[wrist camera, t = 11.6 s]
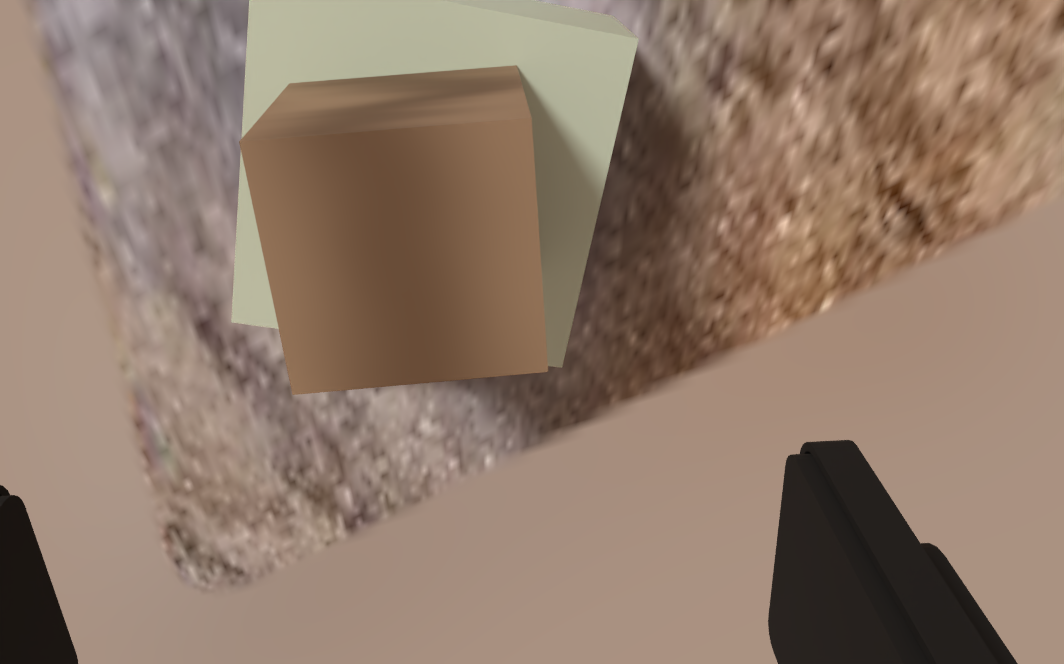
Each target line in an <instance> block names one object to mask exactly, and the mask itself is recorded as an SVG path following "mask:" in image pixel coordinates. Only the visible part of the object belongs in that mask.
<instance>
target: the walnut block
mask: <svg viewBox="0 0 1064 664" xmlns="http://www.w3.org/2000/svg"><path fill="white" fill-rule="evenodd" d="M239 143H240V148H241V153H242V157H243V162H244V167H245V171H246V176H247V181H248V186H249V190H250V195H251V200H252V205H253V209H254V214H255V219H256V224H257V228H258V233H259V238H260V242H261V247H262V252H263V257H264V261H265V266H266V271H267V276H268V280H269V285H270V290H271V295H272V299H273V304H274V309H275V313H276V318H277V323H278V328H279V332H280V337H281V342H282V347H283V351H284V356H285V361H286V366H287V370H288V375H289V380H290V385H291V389H292V394H293V395H296V394H307V393H318V392H329V391H340V390H352V389H363V388H374V387H385V386H396V385H407V384H418V383H430V382H441V381H452V380H463V379H474V378H485V377H496V376H508V375H519V374H530V373H541V372H548V361H547V345H546V330H545V315H544V300H543V284H542V269H541V254H540V238H539V223H538V208H537V193H536V177H535V162H534V147H533V131H532V118H531V114H530V111H529V107H528V104H527V100H526V97H525V93H524V90H523V86H522V82H521V79H520V75H519V72H518V68H517V65H514V66H501V67H489V68H476V69H463V70H451V71H438V72H426V73H413V74H400V75H388V76H375V77H363V78H350V79H337V80H325V81H312V82H299V83H289V84H288V85H287V87H286V88H285V89H284V90H283V91H282V92H281V94H280V95H279V96H278V97H277V98H276V99H275V101H274V102H273V103H272V104H271V105H270V106H269V108H268V109H267V110H266V111H265V112H264V113H263V115H262V116H261V117H260V118H259V119H258V120H257V122H256V123H255V124H254V125H253V126H252V127H251V129H250V130H249V131H248V132H247V133H246V134H245V136H244V137H243V138H242V139H241V140H240V141H239Z"/></svg>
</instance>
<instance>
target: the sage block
mask: <svg viewBox="0 0 1064 664" xmlns="http://www.w3.org/2000/svg"><path fill="white" fill-rule="evenodd" d="M638 40H639V39H638V38H637V37H636V36H635V35H634V34H633V33H632V32H631V31H629V30H628V29H627V28H626V27H625V26H624V25H623V24H622V23H620V22H619V21H618V20H617V19H616V18H615V17H614V16H611V15H606V14H601V13H596V12H591V11H586V10H581V9H576V8H571V7H566V6H561V5H556V4H550V3H545V2H540V1H535V0H249V17H248V34H247V52H246V70H245V88H244V106H243V124H242V138H243V137H244V136H245V134H246V133H247V132H248V131H249V130H250V129H251V127H252V126H253V125H254V124H255V123H256V122H257V120H258V119H259V118H260V117H261V116H262V115H263V113H264V112H265V111H266V110H267V109H268V108H269V106H270V105H271V104H272V103H273V102H274V101H275V99H276V98H277V97H278V96H279V95H280V94H281V92H282V91H283V90H284V89H285V88H286V87H287V85H288V84H289V83H299V82H312V81H325V80H337V79H350V78H363V77H375V76H388V75H400V74H413V73H426V72H438V71H451V70H463V69H476V68H489V67H501V66H514V65H517V68H518V72H519V75H520V79H521V82H522V86H523V90H524V93H525V97H526V100H527V104H528V107H529V111H530V114H531V118H532V131H533V147H534V162H535V177H536V193H537V208H538V223H539V238H540V254H541V269H542V284H543V300H544V315H545V330H546V345H547V361H548V366H552V367H559V368H562V366H563V362H564V357H565V353H566V349H567V345H568V340H569V336H570V332H571V327H572V323H573V319H574V315H575V310H576V306H577V302H578V297H579V293H580V289H581V285H582V280H583V276H584V272H585V267H586V263H587V259H588V255H589V250H590V246H591V242H592V237H593V233H594V229H595V225H596V220H597V216H598V212H599V207H600V203H601V199H602V195H603V190H604V186H605V182H606V177H607V173H608V169H609V164H610V160H611V156H612V152H613V147H614V143H615V139H616V134H617V130H618V126H619V122H620V117H621V113H622V109H623V104H624V100H625V96H626V92H627V87H628V83H629V79H630V74H631V70H632V66H633V62H634V57H635V53H636V49H637V44H638ZM231 322H233V323H240V324H247V325H254V326H262V327H269V328H276V329H279V328H278V323H277V318H276V313H275V309H274V304H273V299H272V295H271V290H270V285H269V280H268V276H267V271H266V266H265V261H264V257H263V252H262V247H261V242H260V238H259V233H258V228H257V224H256V219H255V214H254V209H253V205H252V200H251V195H250V190H249V186H248V181H247V176H246V171H245V167H244V162H243V157H242V153H241V159H240V177H239V195H238V213H237V231H236V248H235V266H234V284H233V302H232V320H231Z"/></svg>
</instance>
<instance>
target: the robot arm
mask: <svg viewBox="0 0 1064 664" xmlns="http://www.w3.org/2000/svg"><path fill="white" fill-rule="evenodd" d="M768 625H769V635H770V640H771V644H772V648H773V651H774V654H775V656H776V659H777V662H778V664H1017V662H1016V661H1015V659H1014V658H1013V656H1012V655H1011V653H1010V652H1009V650H1008V649H1007V647H1006V646H1005V644H1004V643H1003V641H1002V640H1001V638H1000V637H999V635H998V634H997V632H996V631H995V630H994V628H993V627H992V625H991V624H990V622H989V621H988V619H987V618H986V616H985V615H984V613H983V612H982V610H981V609H980V607H979V606H978V604H977V603H976V601H975V600H974V598H973V597H972V595H971V594H970V592H969V591H968V589H967V588H966V586H965V585H964V584H963V582H962V580H961V579H960V578H959V576H958V575H957V573H956V572H955V570H954V569H953V567H952V566H951V564H950V563H949V561H948V560H947V558H946V557H945V556H944V554H943V553H942V552H941V551H940V550H939V549H938V547H936V546H934V545H932V544H930V543H921V544H920V542H919V541H918V539H917V537H916V536H915V534H914V533H913V532H912V530H911V529H910V527H909V525H908V524H907V522H906V521H905V519H904V518H903V516H902V514H901V513H900V511H899V510H898V508H897V507H896V505H895V504H894V502H893V501H892V499H891V498H890V496H889V494H888V493H887V491H886V490H885V488H884V487H883V485H882V484H881V482H880V481H879V479H878V477H877V476H876V475H875V473H874V471H873V470H872V468H871V467H870V465H869V464H868V462H867V461H866V459H865V458H864V456H863V454H862V453H861V451H860V450H859V448H858V447H857V445H856V444H855V443H854V442H853V441H850V440H841V441H820V442H806V443H804V444H803V446H802V448H801V451H800V454H796V455H790V456H788V458H787V460H786V466H785V474H784V483H783V492H782V501H781V510H780V519H779V528H778V537H777V546H776V555H775V564H774V573H773V581H772V590H771V600H770V608H769V620H768ZM0 664H78V659H77V655H76V652H75V649H74V646H73V644H72V640H71V637H70V634H69V632H68V629H67V626H66V623H65V620H64V617H63V614H62V611H61V609H60V606H59V603H58V600H57V597H56V594H55V591H54V588H53V585H52V583H51V580H50V577H49V574H48V571H47V568H46V565H45V562H44V560H43V557H42V554H41V551H40V548H39V545H38V542H37V540H36V537H35V534H34V531H33V528H32V525H31V522H30V519H29V516H28V514H27V511H26V508H25V505H24V503H23V501H22V500H21V499H20V498H19V497H18V496H15V495H10V494H9V492H8V490H7V489H6V488H4V487H3V486H1V485H0Z"/></svg>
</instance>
